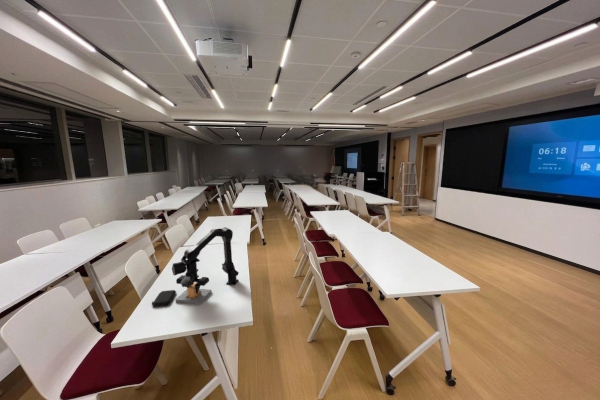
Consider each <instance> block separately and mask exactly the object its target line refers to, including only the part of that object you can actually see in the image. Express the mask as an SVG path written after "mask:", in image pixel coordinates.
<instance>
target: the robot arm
mask: <svg viewBox="0 0 600 400" xmlns="http://www.w3.org/2000/svg"><path fill="white" fill-rule="evenodd" d="M233 235H234V233H233V230H232V229H230V228H228V227H226V226H225V227H222V228H215V229H214V228H213V229H210V231H209V232H208V233H206V235H204V237H202V239H200V240H199V241H198V242H196V243H195V244H194V245H192V246H189V247H188V248H187V249H186V250H185V251H184V252H183V255H182V258H181V259H180V261H178V262H174V263H172V266H171V271H172V275H173V276H177V275H180V276H179V277H178V278H176V280H175V282H176V284H177V285H181V287H182V288H186V289H187V288H188V287H190V285H193V283H196V284H195V285H194V286H195V287H196V294H197V293H198V291H199V289H201V286H203V287H204V286H206V285H207V284H208V283H209V282H210V278H209V277H207V276H202V277H201V278H200V275H198V272H199V269H198V267H197V266H198V265H197V263H198V262H200V261H201V259H199V258H198V256H199V255H200V253H201V252H202V250H203V249H204V248H205V247H206V246H207V245H209V243H211V241H213V240H214V239H215V238H217V237H220V238H221V239H222V242H223V252H224V253H223V254H224V261H223V263H221V269H222V271H223V272H224V273H225V274H227V281H226V284H225V285H232V286H235V285H237V283H238V282H239V279H237V276H239V271H238V270H236V268H235V264H234V262H233V257H232V256H233V255H232V240H233ZM183 273H185V274H184V275H181V274H183Z"/></svg>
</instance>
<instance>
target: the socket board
mask: <svg viewBox="0 0 600 400" xmlns="http://www.w3.org/2000/svg"><path fill="white" fill-rule="evenodd" d="M199 289H200V294H199V295H198V296H197V297H196V298H195V299H194V298H188V290H187V289H185V290H184V291H183V292H181V294H180V295H179V296H178V297H177V298H175V303H176V304H188V305H197V306H201V304H203V302H205V301H206V300H207V298H208V297H209V296H210V295H211V294H212V289H205V288H199Z"/></svg>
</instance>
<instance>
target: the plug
mask: <svg viewBox="0 0 600 400" xmlns="http://www.w3.org/2000/svg"><path fill="white" fill-rule="evenodd" d="M195 284H196V282H194V283H193V285H190V287H188V288H187V287H186V290H188V298H194V299H195V298H196V297H197V296H198V295H199V294H200V289H201V288H199V291H198V293H197V294H196V287H195V286H194V285H195Z"/></svg>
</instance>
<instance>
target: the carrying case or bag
mask: <svg viewBox="0 0 600 400" xmlns="http://www.w3.org/2000/svg"><path fill="white" fill-rule="evenodd" d="M176 293H177V291H176V290H175V289H170V290H162V291H160V293H158V295H157V296H156V297H155V299H154V300H153V301H151V306H152V307H154V308H159V307H166V306H169V305H170V304H171V302H172V301H173V299H174V297H175V295H176Z"/></svg>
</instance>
